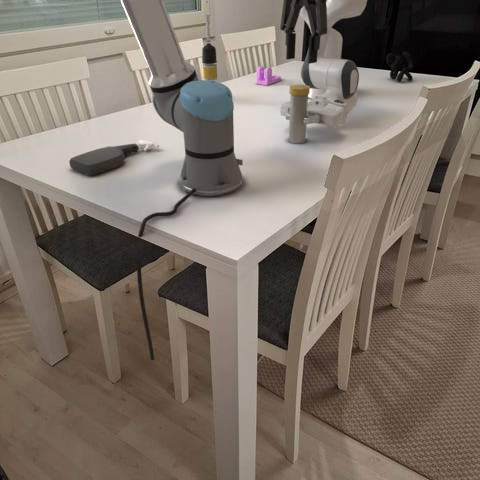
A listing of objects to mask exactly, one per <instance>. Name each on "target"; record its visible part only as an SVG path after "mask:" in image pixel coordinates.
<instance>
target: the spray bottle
mask: <svg viewBox="0 0 480 480" xmlns="http://www.w3.org/2000/svg"><path fill="white" fill-rule="evenodd" d="M159 148H160V145H159V144H158V143H155V142H151V141H148V140H144V139H139V140H138V141H137V142H135V143H129V144H128V143H126V144H122V145H113V146H105V147H100V148H97V149H94V150H90V151H87V152H83V153H81V154H78V155H74V156H73V157H70V159H69V161H68V162H69V167H70V168H71V169H72V170H74V171H75V172H78V173H81V174H83V175H85V176H89V177H90V176H91V177H92V176H95V175H99V174H102V173H105V172H107V171H110V170H113V169H116V168H118V167H120V166H122V165H123V164H124V163H125V158H126V156H127V155H131V154H133V153H138V151H140V150H143V151H144V152H146V151H147V150H149V149H159Z"/></svg>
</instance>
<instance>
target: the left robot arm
mask: <svg viewBox="0 0 480 480" xmlns="http://www.w3.org/2000/svg"><path fill="white" fill-rule="evenodd" d="M326 1H327V0H317V1H316V0H283V1H282V9H281V17H280V25H279V29H280V31H284V33H285V41H284V42H285V43H284V44H285V47H286V55H285V60H293V59H295V58H296V42H297V41H296V40H297V33H296V30H295V29H296V26H297V23H298V20H299V17H300V16H299V13H300V10H301V9H302V8H303V6H305V9H306V10H307V13H308V18H309V23H310V27H311V30H310V33H311V32H312V33H311V35H309V37H308V48H309V55H308V63H309V64H311V63H316V62H317V53H318V50H319V48H320V37H321V36H322V35H324V34H327V4H326ZM120 2H121V4H122V7H123V9H124V11H125V14H126V16H127V18H128V21H129V24H130V25H131V28H132V30H133V33H134V36H135V37H136V40H137V43H138V45H139V47H140V50H141V52H142V54H143V57H144V59H145V62H146V64H147V66H148V68H149V72H150V73H151V77H150V79H149V81H148V85H149V87H150V90H151V93H152V94H151V99H152V100H151V101H152V106H153V108H154V110H155V112H156V113H157V115H158V116H159V117H160V119H161V120H163V121H164V122H165V123H167V124H168V125H171V126H172V127H174V128H176V129H177V130H179V131H180V132H182V133H183V143H184V154H185V155H184V158H183V164H182V168H181V171H180V177H179V178H180V179H179V183H180V184H179V185H180V188H181V189H182V191H184V192H186V193H187V194H185V196H183V197H182V198H181V199H179V200H178V201H177V203H175V205H174V206H173V209H172V210H169V211H161V212H153V213H151V214H149V215H147V216H146V217H144V218H143V219H142V220H141V224H140V228H139V231H138V235H137V237H138V238H142V237H143V236H144V232H145V228H146V225H147V223H148V222H149V221H150V220H151V219H154V218H156V217H169V216H173V215H175V214H176V213H177V211H178V209H179V207H180V206H181V205H182V204H183V203H185V202H186V201H187V200H188V199H189V198H190V197H191V196H192V195H194V196H199V197H221V196H224V195H229V194H232V193H234V192H235V191H237V190H239V189H240V188H241V187H242V185H243V174H242V171H241V168H240V166H241V167H242V166H243V165H244V160H243V159H239V158H237V157H236V154H235V132H234V131H235V130H234V127H235V126H234V109H235V105H234V100H233V93H232V91H231V89H230V88H229V87H228V86H227V85H226V84H223V83H221V82H219V81H215V82H211V81H208V80H204V79H203V80H200V79H199V77H198V74H197V71H196V68H195V66H194V65H193V64H191V63H189V62H188V61H186V60H185V57H184V54H183V51H182V48H181V45H180V43H179V39H178V37H177V34H176V31H175V29H174V26H173V23H172V20H171V18H170V15H169V11H168V10H167V9H168V8H167V7H166V4H165V1H164V0H120ZM322 29H323V30H322ZM136 275H137V289H138V295H139V302H140V309H141V315H142V319H143V324H144V329H145V335H146V339H147V345H148V349H149V350H148V351H149V357H150V361H154V360H155V354H154V348H153V347H154V346H153V342H152V336H151V331H150V326H149V325H150V324H149V320H148V315H147V311H146V310H147V309H146V305H145V304H146V303H145V297H144V288H143V279H142V278H143V277H142V261H141V260H136Z"/></svg>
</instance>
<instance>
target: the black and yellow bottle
mask: <svg viewBox="0 0 480 480" xmlns="http://www.w3.org/2000/svg"><path fill="white" fill-rule="evenodd" d="M210 17H211V14H204V18H205V27H206V29H205V30H206V31H205V33H206V39H207V40H206V42H207V43H206V45H204V46H202V49H201V50H202V51H201V52H202V54H201V55H202V57H201V58H202V61H201V63H202V71H203V72H202V73H203V74H202V75H203V80H207V81H211V82H216V80H218V64H216V63H218V61H217V48H216V47H215V46H214V45H212V43H210V42H211V40H210V39H211V31H210V29H211V28H210Z"/></svg>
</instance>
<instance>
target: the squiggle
mask: <svg viewBox="0 0 480 480" xmlns="http://www.w3.org/2000/svg"><path fill="white" fill-rule="evenodd" d="M401 57H402V59H401ZM391 59H392V60H391ZM393 60H394V61H393ZM385 61H386V64H387V67H390V68H391V70H390V72H389V78H390V79H391V80H395V79H396V81H397V82H399V83H400V82H402V81H403V79H404V76H406V78H407V80H408V81H412V80H413V79H414V77H413V75H412V74H411V73H410V72H409V71H410V70H412V69H413V68H414V64H413V61H412V57H411V54H410V53H409V52H408V51H403V53H402V54H401V55H396V54H394V53H392V52H390V53H387V55H386V57H385ZM406 62H407V65H408V66H407V67H405V66H404V65H405V64H406ZM400 70H401V71H400Z"/></svg>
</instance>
